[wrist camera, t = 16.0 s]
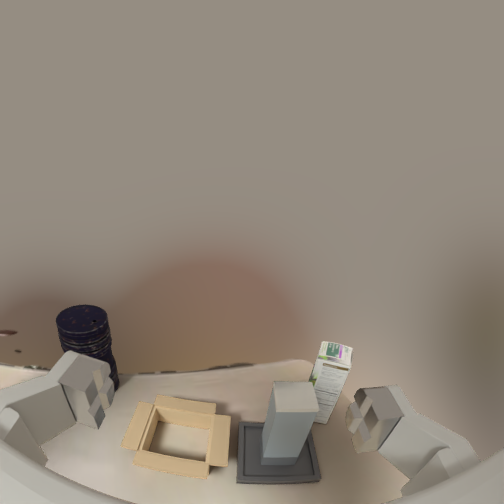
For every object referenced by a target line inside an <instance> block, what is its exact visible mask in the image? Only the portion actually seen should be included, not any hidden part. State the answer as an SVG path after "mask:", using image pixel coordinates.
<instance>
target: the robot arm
mask: <svg viewBox="0 0 504 504" xmlns="http://www.w3.org/2000/svg"><path fill="white" fill-rule="evenodd" d="M110 373H111V370H110V366H109V364H108V363H107V362H104V361H101V360H98V359H95V358H92V357H89V356H86V355H83V354H79V353H76V352H73V351H71V350H70V351H67V352H66V353H65V354H64V355H63V356H62V357H61V359H60V360H59V361H58V362H57V363H56V365H55V366H54V367H53V368H52V369H51V370H50V371H49V373H48V374H47V375H46V376H45V377H43V376H39V377H37V378H34V379H31V380H28V381H25V382H22V383H19V384H16V385H13V386H10V387H7V388H4V389H1V390H0V504H136V503H132V502H129V501H125V500H122V499H119V498H116V497H113V496H110V495H107V494H105V493H102V492H99V491H97V490H94V489H91V488H89V487H87V486H84V485H82V484H79V483H77V482H75V481H73V480H70V479H68V478H66V477H64V476H62V475H60V474H58V473H56V472H54V471H52V470H50V469H48V468H46V467H45V464H46V462H47V460H48V459H47V456H46V455H45V454H44V452H43V451H42V449H41V448H40V447H39V446H40V445H42V444H43V443H45V442H47V441H48V440H50V439H52V438H53V437H55V436H57V435H58V434H60V433H62V432H63V431H65V430H67V429H68V428H70V427H71V426H73V425H75V424H76V422H78V423H81V424H84V425H87V426H89V427H92V428H95V429H99V427H100V425H101V423H102V421H103V419H104V417H105V413H104V409H106V408H108V407H110V405H111V403H112V401H113V397H114V384H113V381H112V380H111V379H110V377H109V374H110ZM354 398H355V402H353V403H352V404H351V405H350V406H349V408H348V410H347V412H346V426H347V429H348V430H349V431H350V432H351V433H353V434H354V435H353V437H352V439H351V440H352V443H353V445H354V448H355V451H356V453H363V452H370V451H376V450H378V452H379V453H380V454H381V455H382V456H383V457H384V458H386V459H387V460H388V461H389V462H390V463H391V464H393V465H394V466H395V467H396V468H397V469H398V470H400V471H401V472H402V473H403V474H404V475H406V476H407V477H408V478H409V479H410V481H409V482H408V483H406V484H405V485H404V486H403V487H402V489H401V493H402V496H403V497H402V498H399V499H395V500H392V501H389V502H386V503H382V504H504V448H502V449H501V450H499V451H497V452H496V453H494V454H493V455H491V456H490V457H488V458H486V459H485V460H483V461H480V459H479V457H478V456H477V454H476V453H475V451H474V450H473V448H472V447H471V445H470V444H469V442H468V440H467V439H466V438H464V437H462V436H460V435H458V434H456V433H455V432H453V431H451V430H449V429H447V428H445V427H443V426H442V425H440V424H438V423H436V422H435V421H433V420H431V419H429V418H427V417H426V416H424V415H422V414H417V413H416V412H415V410H414V408H413V407H412V405H411V404H410V402H409V400H408V399H407V397H406V396H405V394H404V393H403V391H402V390H401V388H400V387H399V386H398V385H391V386H384V387H373V388H360V389H359V390H357V392H356V394H355V395H354Z"/></svg>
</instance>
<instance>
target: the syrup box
mask: <svg viewBox="0 0 504 504" xmlns="http://www.w3.org/2000/svg"><path fill="white" fill-rule="evenodd" d="M352 357H353V348H351V347H348V346H345V345H341V344H337V343H332V342H326V341H322V343H321V347H320V350H319V353H318V356H317V359H316V362H315V364H314V367H313V370H312V373H311V376H310V379H309V382H312V383H313V387H314V391H315V394H316V398H317V402H318V405H319V411H318V412H317V414H316V417H315V419H314V422H318V423H323V424H327V422H328V420H329V417H330V415H331V413H332V411H333V409H334V407H335V405H336V402H337V400H338V398H339V395H340V393H341V391H342V388H343V386H344V384H345V381H346V379H347V376H348V374H349V371H350V369H351V364H352Z"/></svg>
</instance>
